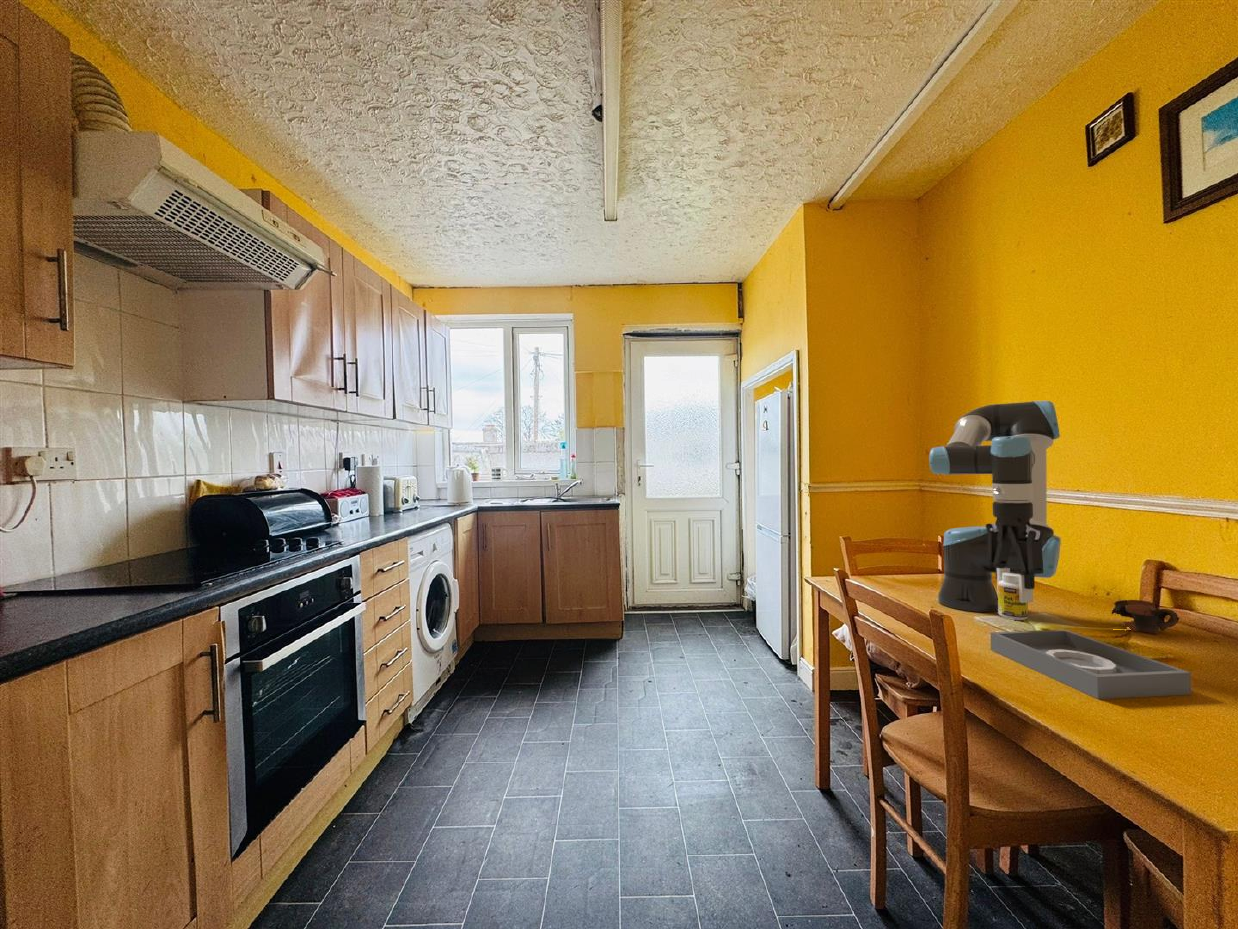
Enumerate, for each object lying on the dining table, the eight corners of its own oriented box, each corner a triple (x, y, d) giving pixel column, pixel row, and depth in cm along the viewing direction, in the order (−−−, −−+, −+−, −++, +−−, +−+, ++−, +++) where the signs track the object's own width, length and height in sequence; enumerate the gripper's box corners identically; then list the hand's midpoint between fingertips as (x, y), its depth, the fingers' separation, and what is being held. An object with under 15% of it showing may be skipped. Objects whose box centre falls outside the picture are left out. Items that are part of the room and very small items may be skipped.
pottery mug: (1109, 630, 126) (1103, 598, 130) (1125, 641, 130) (1118, 610, 133) (1177, 630, 116) (1168, 596, 120) (1192, 642, 120) (1183, 608, 124)
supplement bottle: (1000, 618, 117) (999, 575, 117) (996, 612, 122) (996, 570, 122) (1030, 622, 115) (1030, 577, 114) (1025, 615, 119) (1024, 573, 119)
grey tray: (990, 650, 113) (990, 632, 113) (1065, 646, 114) (1065, 629, 114) (1097, 699, 89) (1097, 677, 89) (1191, 694, 90) (1190, 672, 90)
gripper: (967, 498, 127) (970, 588, 127) (1031, 505, 109) (1034, 611, 109) (995, 497, 128) (998, 587, 128) (1064, 503, 109) (1066, 609, 109)
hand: (1014, 598), depth 118 cm, fingers closed on supplement bottle, 5 cm apart
